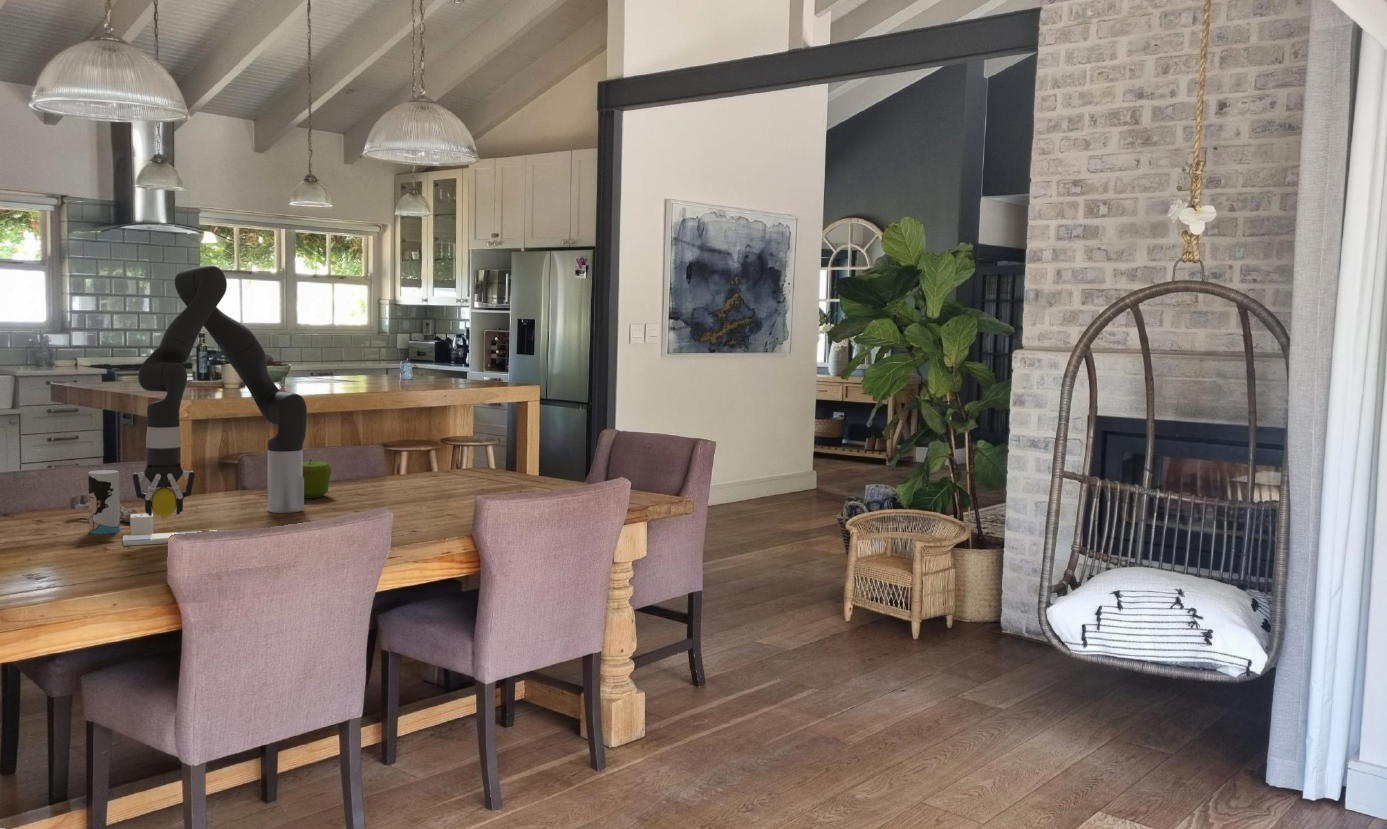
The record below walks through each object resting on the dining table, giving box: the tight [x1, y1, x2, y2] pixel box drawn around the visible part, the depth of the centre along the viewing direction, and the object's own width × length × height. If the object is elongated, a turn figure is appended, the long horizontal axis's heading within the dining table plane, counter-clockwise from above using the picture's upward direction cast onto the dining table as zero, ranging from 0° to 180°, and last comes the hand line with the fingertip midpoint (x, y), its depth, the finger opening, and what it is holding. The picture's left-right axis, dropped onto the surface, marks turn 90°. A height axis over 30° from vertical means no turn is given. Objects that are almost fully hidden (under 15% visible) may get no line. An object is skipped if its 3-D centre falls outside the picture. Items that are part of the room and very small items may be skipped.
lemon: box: [151, 487, 177, 519], centre depth 273 cm, size 6×6×8 cm
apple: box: [303, 459, 332, 499], centre depth 341 cm, size 12×12×11 cm
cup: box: [87, 469, 121, 535], centre depth 282 cm, size 7×7×15 cm
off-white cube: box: [129, 512, 154, 535], centre depth 280 cm, size 5×5×5 cm
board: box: [122, 529, 218, 547], centre depth 275 cm, size 24×7×1 cm, turn 117°
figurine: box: [69, 493, 142, 524], centre depth 296 cm, size 6×6×20 cm
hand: (164, 514), depth 274 cm, fingers closed on lemon, 5 cm apart
